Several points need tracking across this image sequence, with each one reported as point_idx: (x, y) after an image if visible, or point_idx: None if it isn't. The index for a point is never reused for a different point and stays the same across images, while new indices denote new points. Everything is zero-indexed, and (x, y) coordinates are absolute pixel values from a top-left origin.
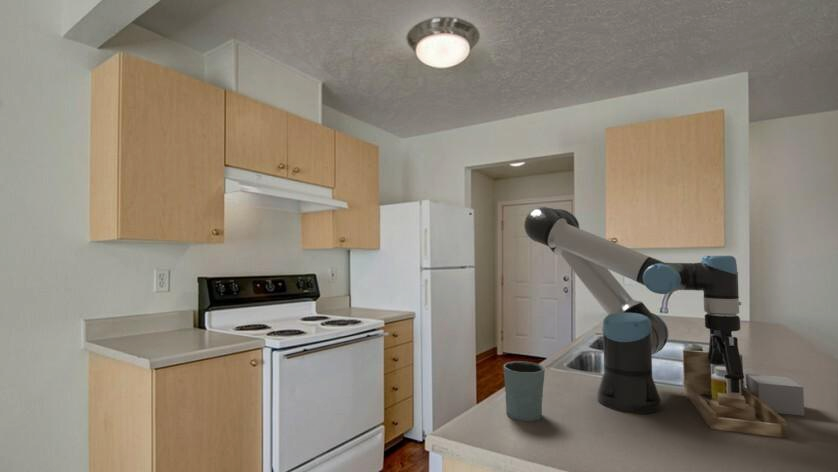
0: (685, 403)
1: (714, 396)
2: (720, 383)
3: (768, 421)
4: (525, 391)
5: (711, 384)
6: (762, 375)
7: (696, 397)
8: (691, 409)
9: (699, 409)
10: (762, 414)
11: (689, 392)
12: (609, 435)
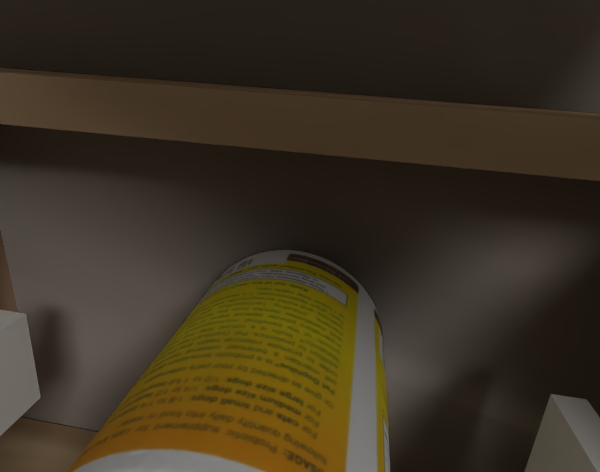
0: (330, 14)
1: (224, 294)
2: (78, 457)
3: (29, 438)
4: None
5: (260, 368)
6: None
7: (117, 80)
8: (155, 25)
9: (66, 73)
10: None
11: (511, 109)
12: None
